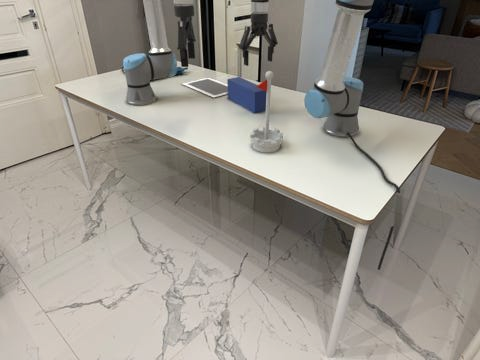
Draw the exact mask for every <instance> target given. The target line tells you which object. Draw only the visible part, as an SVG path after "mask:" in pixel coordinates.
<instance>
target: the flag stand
mask: <svg viewBox="0 0 480 360" xmlns="http://www.w3.org/2000/svg"><path fill="white" fill-rule="evenodd" d="M264 77H265V79H266V80H264V81H262V82H261V83H259V84H257V85H258V86H256V87H257V88H260V89H262V90H264V91H267V94H266V110H265V121H264V123H265V125H264V126H262V129H260V128H257V127H256V128H254V129H252V132H250V133H249V134H250V135H249V140H250V142H251V143H252V148H253V150H255V151H258V152H261V153H274V152H276V151H278V150H279V149H280V148H281V144H282V143H283V141H284V133H283V132H280V129H278V128H273V130H272V129H270V118H271V117H270V114H271V113H270V112H271V97H272V96H271V95H272V94H271V92H272V79H273V78H274V73H273V71H271V70H267V71H266V72H265V75H264Z"/></svg>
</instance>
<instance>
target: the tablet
mask: <svg viewBox="0 0 480 360" xmlns="http://www.w3.org/2000/svg"><path fill="white" fill-rule="evenodd" d="M181 85H182V86H185V87H187V88H189V89H192V90H194V91H195V92H198V93H201V94H203V95H205V96H207V97H211V98H212V99H216V98H219V97H222V96H226V95H228V84H227V83H225V82H222V81H219V80H217V79H214V78H212V77H204V78H200V79H197V80H192V81H188V82H184V83H181Z"/></svg>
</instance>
